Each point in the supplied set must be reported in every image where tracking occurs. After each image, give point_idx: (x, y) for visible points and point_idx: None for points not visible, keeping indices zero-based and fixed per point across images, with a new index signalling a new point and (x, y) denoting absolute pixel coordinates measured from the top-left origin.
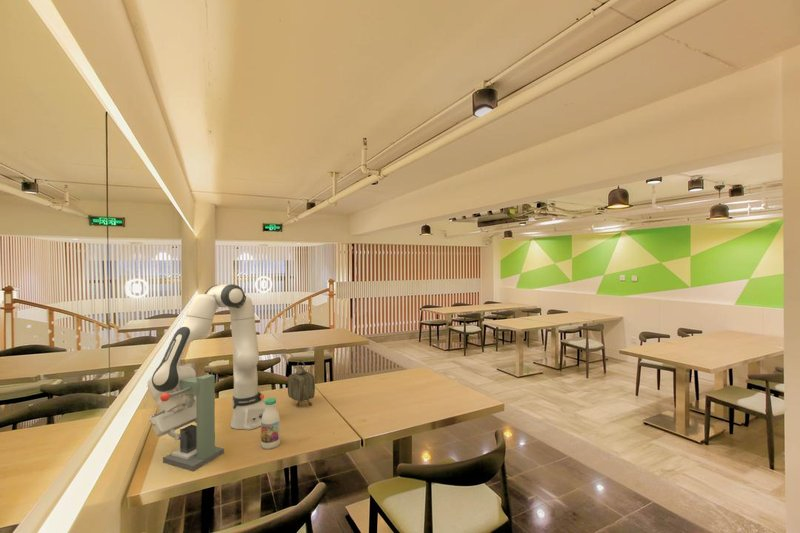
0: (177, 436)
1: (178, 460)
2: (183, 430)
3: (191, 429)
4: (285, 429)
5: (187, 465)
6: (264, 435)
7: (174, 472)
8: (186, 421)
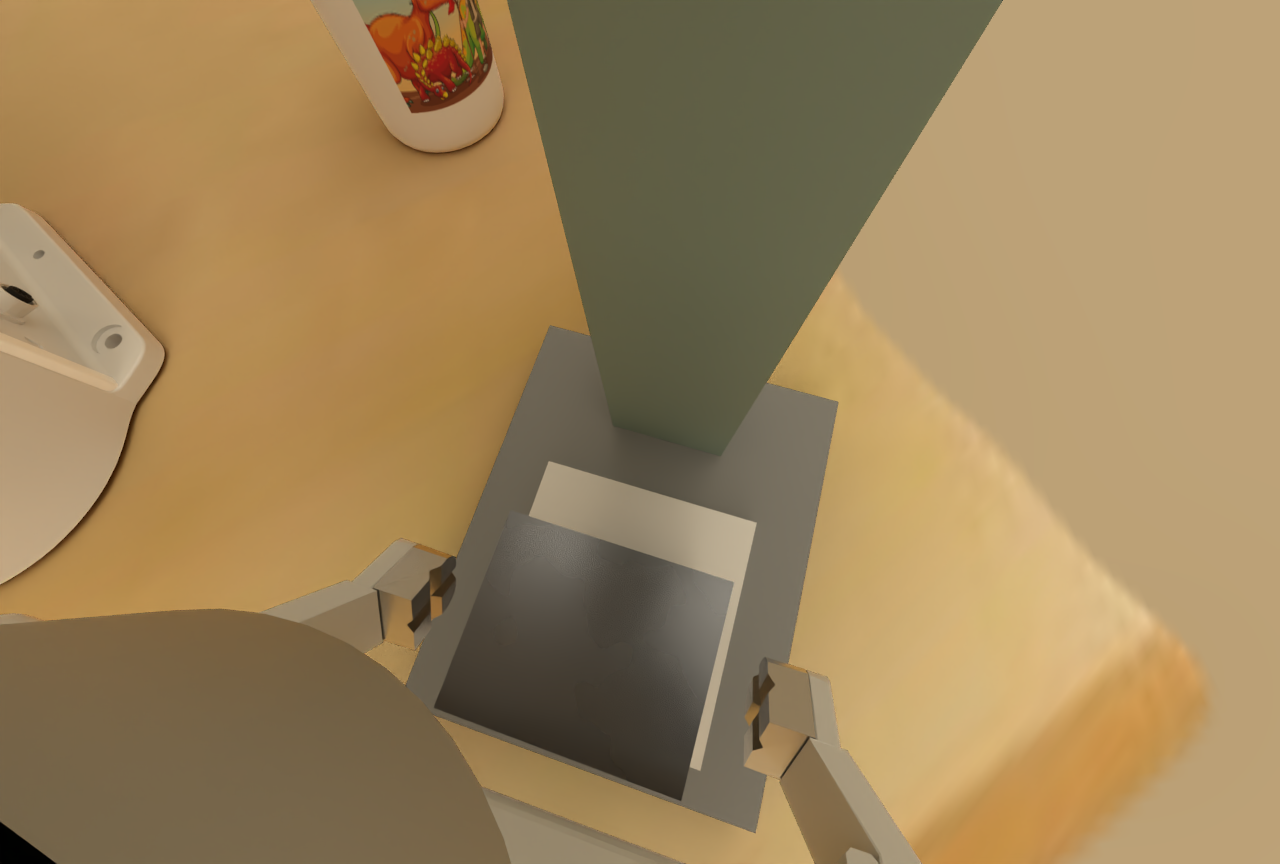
0: (825, 703)
1: (780, 601)
2: (707, 686)
3: (640, 554)
4: (218, 109)
5: (823, 468)
6: (467, 11)
7: (863, 557)
8: (499, 809)
